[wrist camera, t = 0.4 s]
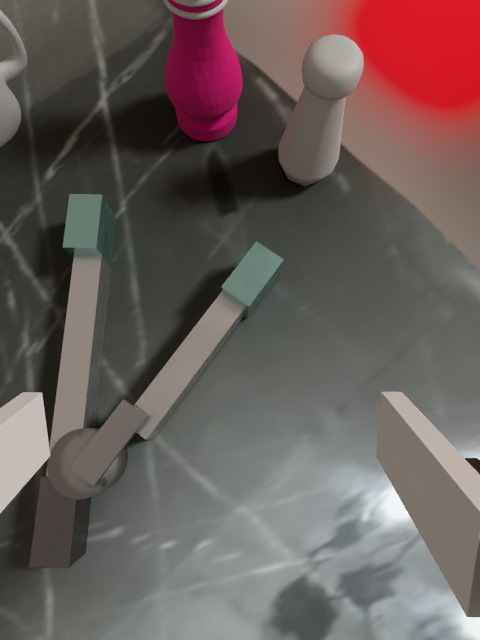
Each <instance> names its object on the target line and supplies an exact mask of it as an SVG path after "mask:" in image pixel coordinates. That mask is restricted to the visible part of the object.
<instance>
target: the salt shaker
mask: <svg viewBox="0 0 480 640" xmlns="http://www.w3.org/2000/svg"><path fill="white" fill-rule="evenodd" d="M363 65H364V62H363V53H362V52H361V50H360V49H359V48H358V46H357V45H356V43H355V42H354V41H352V40H350V39H349V38H347V37H346V36H341V35H329V36H323V37H321V38H319V39H318V40H316V41H315V42H313V43H312V44H311V45H310V47H309V49H308V51H307V53H306V54H305V57H304V59H303V65H302V76H303V82H304V84H305V87H304V89H303V91H302V93H301V96H300V98H299V100H298V102H297V105H296V107H295V109H294V111H293V114H292V116H291V118H290V120H289V123H288V125H287V127H286V130H285V132H284V134H283V136H282V139H281V141H280V143H279V145H278V153H279V162H280V164H281V166H282V168H283V170H284V171H285V173H286V175H287V177H288V179H289V180H291V181H293V182H295V183H298V184H300V185H302V186H305V187H306V186H308V185H310V184H313V183H315V182H317V181H320V180H322V179H323V178H325V177H326V176H327V175H329V174H330V173H332V171H333V170H334V167H335V165H336V163H337V161H338V159H339V152H340V143H341V134H342V125H343V116H344V107H345V98H346V96H347V95H349V94H350V93H352V92H353V91H354V89H355V87H356V85H357V83H358V81H359V79H360V77H361V74H362V71H363Z"/></svg>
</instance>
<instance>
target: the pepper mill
mask: <svg viewBox="0 0 480 640" xmlns="http://www.w3.org/2000/svg"><path fill="white" fill-rule="evenodd" d="M164 2H165V4H166V6H167V7H168V8H169V9H170V10H171V11H172V15H173V21H174V37H173V41H172V45H171V48H170V51H169V54H168V58H167V62H166V70H165V83H166V90H167V94H168V97H169V99H170V101H171V102H172V104H173V105H174V106H175V110H176V115H177V120H178V124H179V126H180V128H181V129H182V131H183V132H184V133H185V134H187V135H188V136H189V137H191V138H193V139H196V140H200V141H213V140H218V139H220V138H222V137H224V136H226V135H227V134H228V133H230V131H231V130H232V129H233V128H234V126H235V123H236V120H237V102H238V100H239V98H240V95H241V91H242V72H241V67H240V64H239V61H238V58H237V55H236V53H235V51H234V49H233V47H232V45H231V43H230V41H229V39H228V37H227V34H226V32H225V28H224V23H223V8H224V7H225V5H226V4H227V2H228V0H164Z"/></svg>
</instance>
